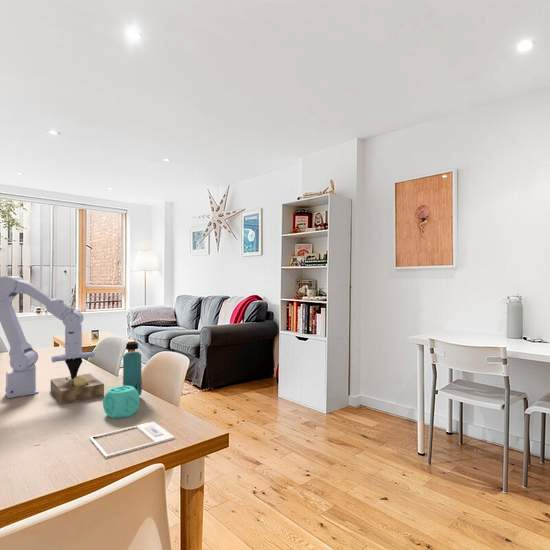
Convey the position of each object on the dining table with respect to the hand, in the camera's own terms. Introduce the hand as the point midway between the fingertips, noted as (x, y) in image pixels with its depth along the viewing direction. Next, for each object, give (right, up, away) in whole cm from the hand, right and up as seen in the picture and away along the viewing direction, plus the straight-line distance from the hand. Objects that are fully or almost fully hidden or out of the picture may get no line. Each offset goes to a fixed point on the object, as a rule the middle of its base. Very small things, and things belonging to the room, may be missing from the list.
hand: (73, 378), depth 151 cm
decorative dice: (+28, -5, -25) cm, 38 cm away
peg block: (+3, -5, -4) cm, 7 cm away
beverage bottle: (+26, -5, -10) cm, 28 cm away
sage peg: (0, -4, 0) cm, 4 cm away
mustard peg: (+6, -2, -8) cm, 10 cm away
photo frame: (+38, -6, -44) cm, 58 cm away
